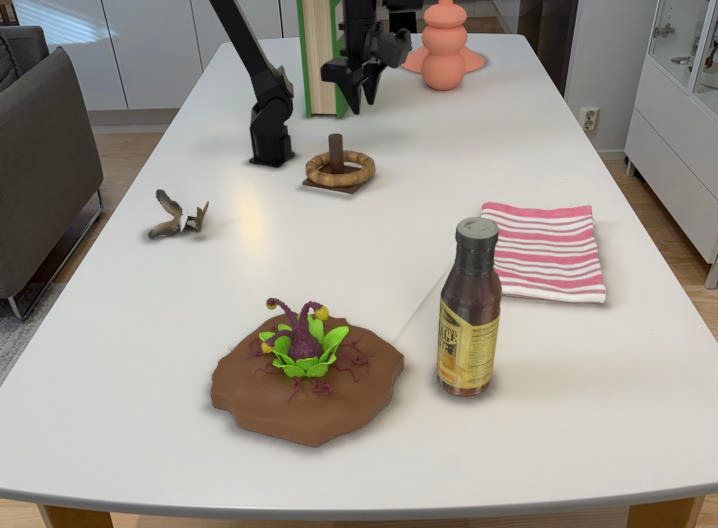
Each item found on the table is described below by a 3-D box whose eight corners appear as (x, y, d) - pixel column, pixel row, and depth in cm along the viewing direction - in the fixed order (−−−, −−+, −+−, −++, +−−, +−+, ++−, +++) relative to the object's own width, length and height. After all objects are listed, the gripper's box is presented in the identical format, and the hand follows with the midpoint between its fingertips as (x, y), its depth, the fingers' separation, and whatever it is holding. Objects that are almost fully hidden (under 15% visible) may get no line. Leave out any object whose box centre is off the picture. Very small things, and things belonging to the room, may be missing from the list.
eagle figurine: (215, 214, 109) (161, 200, 110) (205, 190, 102) (147, 176, 103) (199, 256, 107) (144, 242, 107) (188, 235, 100) (129, 221, 101)
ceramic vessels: (402, 49, 181) (402, -32, 169) (483, 49, 180) (488, -33, 168) (395, 94, 154) (394, 1, 142) (490, 93, 153) (497, 0, 141)
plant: (331, 471, 68) (322, 385, 61) (185, 403, 76) (163, 321, 69) (427, 360, 81) (429, 279, 74) (293, 313, 89) (284, 236, 82)
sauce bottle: (431, 366, 80) (437, 210, 67) (485, 361, 80) (500, 205, 68) (441, 404, 75) (449, 243, 62) (497, 399, 75) (517, 238, 63)
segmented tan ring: (293, 181, 117) (291, 170, 116) (326, 155, 126) (326, 144, 124) (355, 193, 113) (355, 182, 112) (386, 165, 121) (386, 154, 120)
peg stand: (302, 188, 118) (298, 141, 113) (327, 168, 124) (324, 123, 119) (349, 197, 115) (346, 149, 110) (372, 176, 121) (371, 130, 116)
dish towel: (591, 222, 105) (595, 201, 103) (605, 309, 88) (610, 286, 86) (478, 216, 108) (480, 196, 106) (470, 299, 90) (472, 277, 88)
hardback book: (341, 118, 143) (333, -10, 128) (306, 117, 145) (295, -10, 130) (357, 90, 157) (352, -29, 142) (325, 90, 158) (317, -29, 143)
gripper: (377, 33, 105) (380, 134, 115) (427, 5, 117) (425, 98, 127) (315, 27, 109) (322, 124, 119) (369, 1, 122) (372, 91, 131)
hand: (363, 109), depth 124 cm, fingers open, 5 cm apart
